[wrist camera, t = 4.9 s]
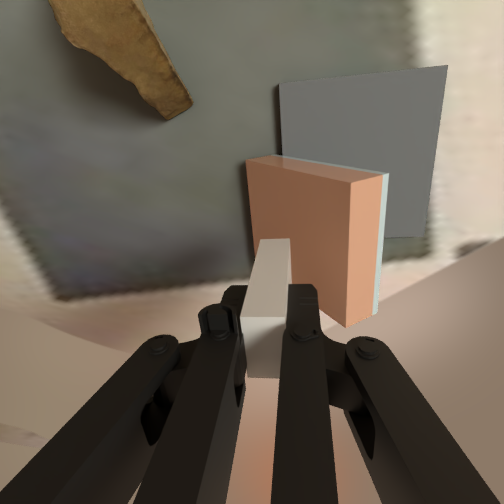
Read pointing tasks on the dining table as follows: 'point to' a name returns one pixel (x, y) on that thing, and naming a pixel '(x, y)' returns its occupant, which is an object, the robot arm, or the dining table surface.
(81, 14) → the rock
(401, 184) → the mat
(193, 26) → the dining table surface
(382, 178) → the tile
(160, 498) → the robot arm
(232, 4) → the dining table surface
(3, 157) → the dining table surface
